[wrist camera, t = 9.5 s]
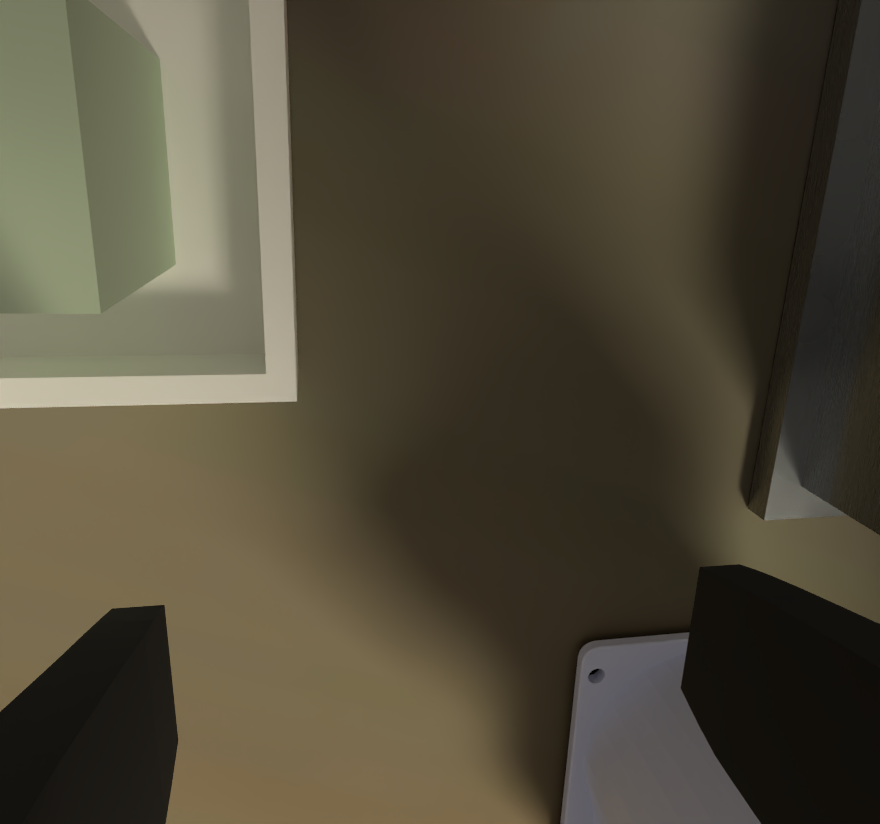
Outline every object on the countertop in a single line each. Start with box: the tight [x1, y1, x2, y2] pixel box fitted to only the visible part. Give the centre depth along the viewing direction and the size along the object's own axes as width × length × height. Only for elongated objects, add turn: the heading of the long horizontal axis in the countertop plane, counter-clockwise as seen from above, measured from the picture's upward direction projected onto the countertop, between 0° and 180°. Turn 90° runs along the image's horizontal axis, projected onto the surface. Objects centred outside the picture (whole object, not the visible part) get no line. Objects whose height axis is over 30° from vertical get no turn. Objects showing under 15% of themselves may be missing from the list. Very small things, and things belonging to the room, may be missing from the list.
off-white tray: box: [0, 0, 298, 408], centre depth 14 cm, size 9×9×3 cm
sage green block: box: [0, 0, 176, 314], centre depth 12 cm, size 4×4×6 cm
